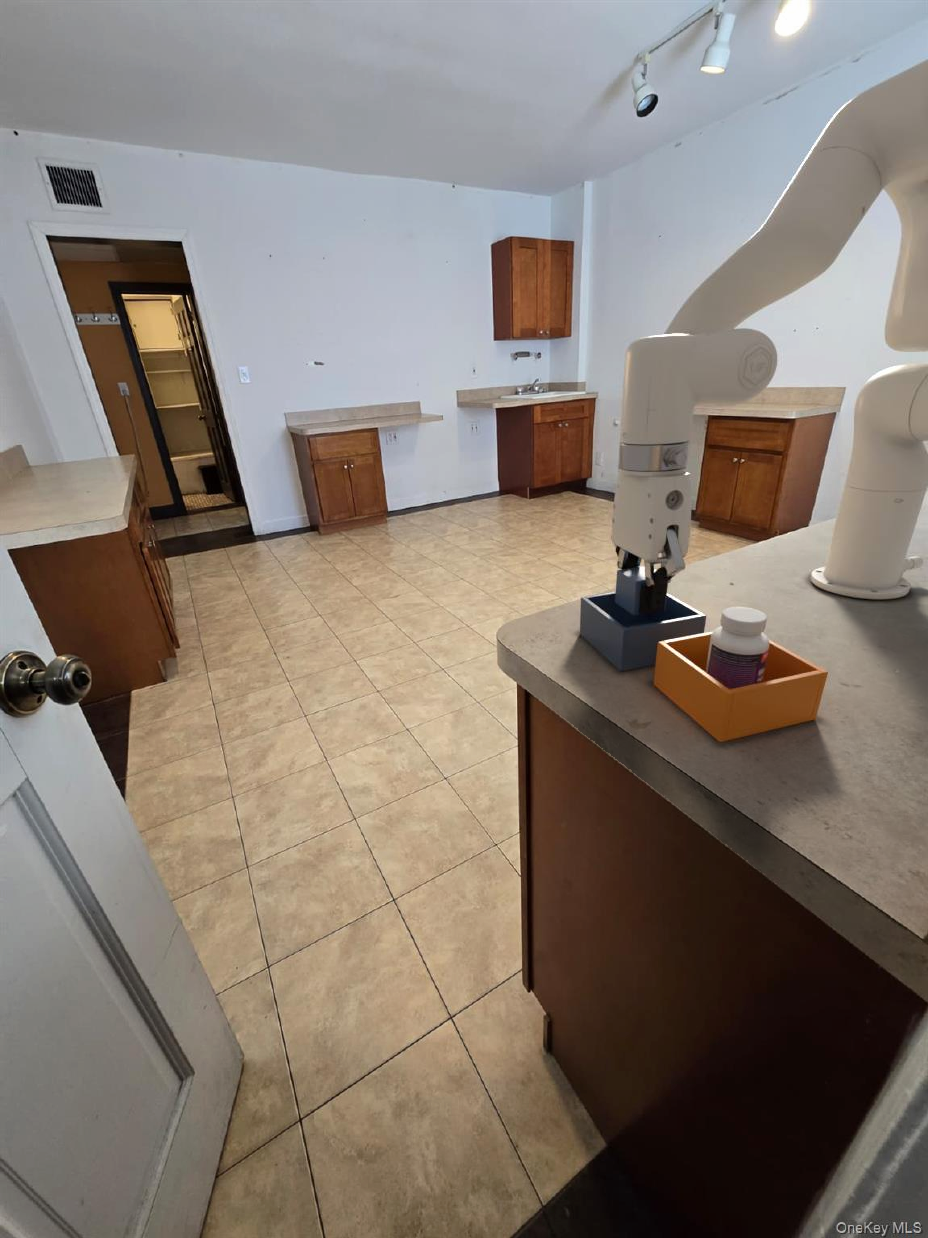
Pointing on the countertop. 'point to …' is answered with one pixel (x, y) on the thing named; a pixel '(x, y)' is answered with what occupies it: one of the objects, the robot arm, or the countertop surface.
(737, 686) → the pill bottle
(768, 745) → the countertop surface
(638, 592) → the blue block
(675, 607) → the blue bin
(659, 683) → the amber bin
